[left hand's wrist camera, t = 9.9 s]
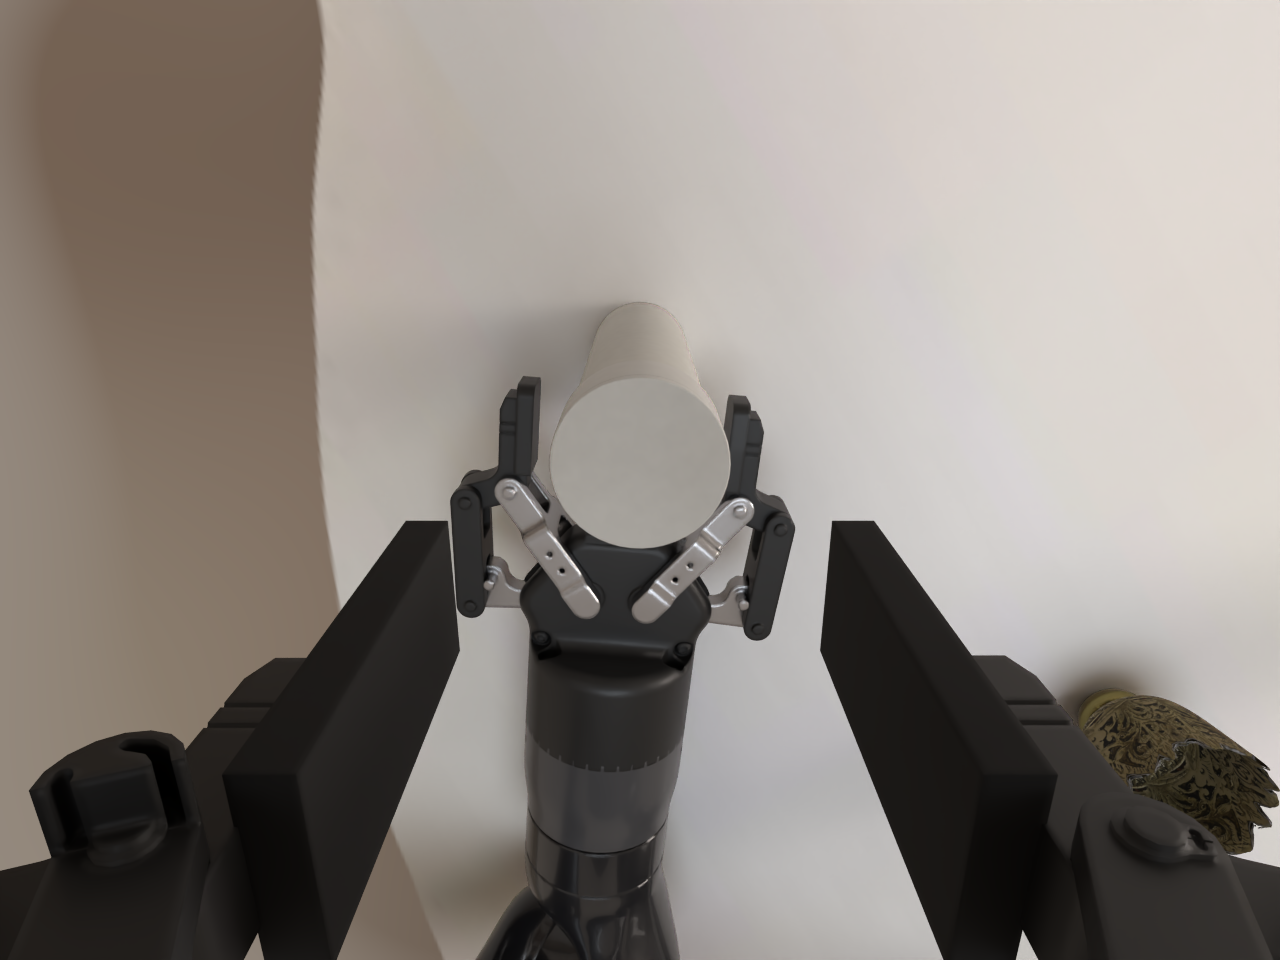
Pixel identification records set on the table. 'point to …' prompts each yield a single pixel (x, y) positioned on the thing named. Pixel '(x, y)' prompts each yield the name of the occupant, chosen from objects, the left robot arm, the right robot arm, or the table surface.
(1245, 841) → the cup
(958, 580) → the table surface
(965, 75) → the table surface
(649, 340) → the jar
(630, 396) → the lid
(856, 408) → the table surface
